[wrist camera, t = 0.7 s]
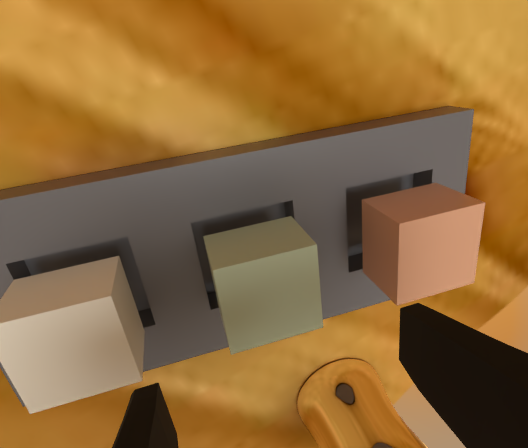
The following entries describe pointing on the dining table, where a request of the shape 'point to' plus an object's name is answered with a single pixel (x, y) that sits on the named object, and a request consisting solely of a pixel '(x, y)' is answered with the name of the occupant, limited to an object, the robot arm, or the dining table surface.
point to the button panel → (228, 217)
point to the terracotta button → (421, 241)
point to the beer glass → (352, 409)
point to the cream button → (71, 334)
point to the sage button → (265, 282)
